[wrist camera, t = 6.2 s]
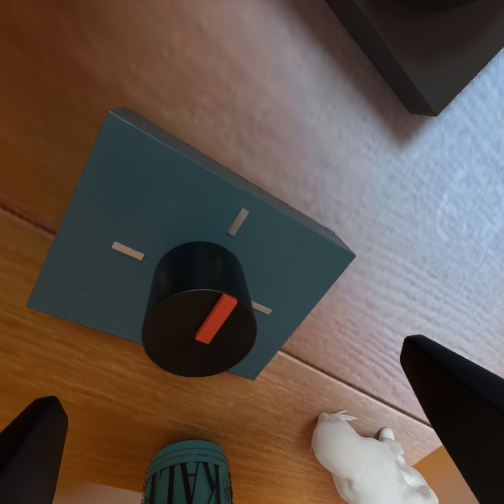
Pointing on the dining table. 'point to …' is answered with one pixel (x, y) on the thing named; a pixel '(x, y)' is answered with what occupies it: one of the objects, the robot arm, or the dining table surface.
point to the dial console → (178, 238)
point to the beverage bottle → (189, 475)
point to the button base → (425, 44)
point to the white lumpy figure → (367, 464)
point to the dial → (198, 312)
